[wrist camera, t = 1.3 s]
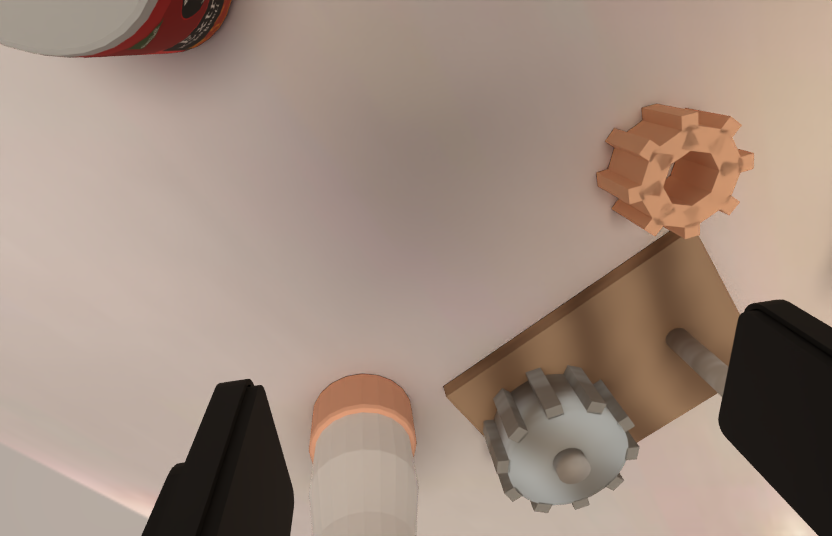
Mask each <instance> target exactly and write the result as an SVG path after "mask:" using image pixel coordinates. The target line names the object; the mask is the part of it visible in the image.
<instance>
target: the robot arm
mask: <svg viewBox="0 0 832 536" xmlns="http://www.w3.org/2000/svg"><path fill="white" fill-rule="evenodd" d="M718 421H719V426H720V429H721V431H722V433H723V434H724V436H725V437H726V438H727V439H728V440H729V441H730V442H731V443H732V444H733V446H734V447H735V448H736V449H737V450H738V451H739V452H740V453H741V454H742V455H743V456H744V457H745V458H746V459H747V460H748V461H749V463H750V464H751V465H752V466H753V467H754V468H755V469H756V470H757V471H758V472H759V473H760V474H761V475H762V476H763V477H764V478H765V480H766V481H767V482H768V483H769V484H770V485H771V486H772V487H773V488H774V489H775V490H776V491H777V492H778V493H779V494H780V495H781V497H782V498H783V499H784V500H785V501H786V502H787V503H788V504H789V505H790V506H791V507H792V508H793V509H794V510H795V511H796V512H797V513H798V515H799V516H800V517H801V518H802V519H803V520H804V521H805V522H806V523H807V524H808V525H809V526H810V527H811V528H812V529H813V530H814V532H815V533H816V534H817V535H818V536H832V327H830V326H829V325H827V324H825V323H823V322H822V321H820V320H818V319H817V318H815V317H813V316H812V315H810V314H808V313H807V312H805V311H803V310H802V309H800V308H798V307H797V306H795V305H793V304H792V303H790V302H788V301H785V300H772V301H765V302H759V303H752V304H750V305H748V306H747V307H746V309H745V311H744V313H741V315H740V316H739V318H738V321H737V326H736V331H735V336H734V341H733V346H732V351H731V356H730V362H729V367H728V372H727V377H726V382H725V387H724V392H723V397H722V402H721V407H720V412H719V419H718ZM293 510H294V493H293V487H292V484H291V480H290V477H289V473H288V470H287V466H286V463H285V459H284V456H283V452H282V449H281V445H280V442H279V438H278V435H277V431H276V428H275V424H274V421H273V417H272V414H271V410H270V407H269V403H268V400H267V396H266V393H265V390H264V387H263V386H262V385H257V386H254V384H253V382H252V381H251V380H250V379H244V380H238V381H231V382H224V383H219V384H217V386H216V388H215V390H214V392H213V395H212V397H211V400H210V402H209V405H208V407H207V409H206V412H205V414H204V417H203V419H202V422H201V424H200V427H199V429H198V432H197V434H196V436H195V439H194V441H193V444H192V446H191V449H190V451H189V454H188V456H187V458H186V461H185V463H179V464H176V465H175V466H174V467H173V468H172V469H171V471H170V472H169V474H168V476H167V478H166V480H165V483H164V485H163V487H162V490H161V492H160V494H159V497H158V499H157V501H156V503H155V506H154V508H153V510H152V513H151V515H150V517H149V519H148V522H147V525H146V526H145V529H144V531H143V533H142V536H290V532H291V525H292V517H293Z"/></svg>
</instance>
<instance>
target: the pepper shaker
mask: <svg viewBox="0 0 832 536" xmlns="http://www.w3.org/2000/svg"><path fill="white" fill-rule="evenodd" d="M416 444H417V442H416V436H415V429H414V423H413V416H412V410H411V405H410V400H409V398H408V397H407V395H406V393H405V392H404V390H403V389H402V388H401V387H399V386H398V385H397V384H396V383H394V382H393V381H392V380H389V379H386V378H384V377H381V376H378V375H368V374H359V375H353V376H348V377H344V378H342V379H340V380H338V381H336V382H334V383H332V384H330V385H329V386H328V387H327V388H326V389H325V390H324V391H323V392H322V393H321V394H320V395H319V397H318V399H317V401H316V403H315V405H314V410H313V419H312V428H311V436H310V445H309V453H310V456H311V460H312V463H313V468H312V476H311V483H310V491H309V502H310V513H311V524H312V535H313V536H416V530H417V508H418V482H417V476H416V471H415V465H414V460H413V457H414V453H415V449H416Z"/></svg>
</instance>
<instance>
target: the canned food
mask: <svg viewBox="0 0 832 536" xmlns="http://www.w3.org/2000/svg"><path fill="white" fill-rule="evenodd" d="M230 3H231V0H0V44H2V45H4V46H7V47H11V48H14V49H18V50H22V51H26V52H30V53H33V54H40V55H45V56H57V57H69V58H71V57H84V58H88V57H107V56H126V55H146V54H165V53H175V52H183V51H186V50H189V49H192V48H194V47H197V46H199V45H200V44H202V43H203V42H205V41H206V40H208V39H209V38H210V37H211V36H212V35H213V34H214V33H215V32H216V31H217V30H218V29H219V28H220V26H221V24H222V23H223V21H224V19H225V17H226V16H227V13H228V10H229V7H230Z"/></svg>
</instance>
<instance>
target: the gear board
mask: <svg viewBox="0 0 832 536" xmlns="http://www.w3.org/2000/svg"><path fill="white" fill-rule="evenodd" d="M739 316H740V314H739V312H738V310H737V308H736V306H735V304H734V302H733V300H732V299H731V297H730V295H729V293H728V291H727V289H726V287H725V285H724V283H723V281H722V279H721V278H720V276H719V274H718V272H717V270H716V268H715V266H714V264H713V262H712V260H711V258H710V257H709V255H708V253H707V251H706V249H705V247H704V245H703V243H702V241H701V239H700V238H699V236H695V237H691V238H688V239H684V238H682V237H680V236H679V235H677V234H675V233H673V232H672V231H670V232H668V233H667V234H665V235H664V236H662V237H661V238H659V239H658V240H656V241H655V242H654V243H652V244H651V245H649V246H648V247H646V248H645V249H643V250H642V251H640V252H639V253H637V254H636V255H635V256H633V257H632V258H630V259H629V260H627V261H626V262H624V263H623V264H621V265H620V266H619V267H617V268H616V269H614V270H613V271H611V272H610V273H608V274H607V275H605V276H604V277H602V278H601V279H600V280H598V281H597V282H595V283H594V284H592V285H591V286H589V287H588V288H586V289H585V290H583V291H582V292H581V293H579V294H578V295H576V296H575V297H573V298H572V299H570V300H569V301H567V302H566V303H564V304H563V305H562V306H560V307H559V308H557V309H556V310H554V311H553V312H551V313H550V314H548V315H547V316H546V317H544V318H543V319H541V320H540V321H538V322H537V323H535V324H534V325H532V326H531V327H529V328H528V329H527V330H525V331H524V332H522V333H521V334H519V335H518V336H516V337H515V338H513V339H512V340H510V341H509V342H508V343H506V344H505V345H503V346H502V347H500V348H499V349H497V350H496V351H494V352H493V353H492V354H490V355H489V356H487V357H486V358H484V359H483V360H481V361H480V362H478V363H477V364H475V365H474V366H473V367H471V368H470V369H468V370H467V371H465V372H464V373H462V374H461V375H459V376H458V377H456V378H455V379H454V380H452V381H451V382H449V383H448V384H446V385H445V386H443V387H444V390H445V394H446V397H447V398H448V399H449V400H450V401H451V402H452V403H453V404H454V406H455V407H456V408H457V409H458V410H459V411H460V412H461V413H462V414H463V415H464V416H465V417H466V418H467V419H468V420H469V421H470V422H471V423H472V424H473V425H474V426H475V427H476V428H477V429H478V430H479V432H480V433H481V434H482V435H483V436H484V437H485V439H486V442H487V445H488V448H489V451H490V454H491V457H492V460H493V463H494V466H495V469H496V472H497V474H498V476H499V479H500V482H501V485H502V488H503V491H504V494H505V495H507V496H508V497H509V498H510V499H511V500H512V501H515V500H517V499H518V498H520V497H521V496H523V497H525V498H526V499H528V500H530V502H531V504H532V507H533V510H534V511H536V512H544V513H548V512H549V510H550V508H551V506H552V505H564V504H570V503H572V505H573V507H574V509H575V510H576V509H579V508H582V507H585V506H588V505H589V501H588V497H590V496H592V495H594V494H596V493H598V492H599V491H601V490H602V489H604V488H605V487H607V488H609V489H611V490H613V491H614V490H615V489H616V488H617V487H618V486H619V485H620V484H621V483H622V482H623V481H624V480H623V478H622V476H621V475H620V473H619V472H620V471H621V469H622V468H623V466H624V464H625V462H626V460H633V459H637V456H638V451H639V446H638V444H637V442H639V441H640V440H642V439H644V438H645V437H647V436H648V435H650V434H652V433H653V432H655V431H657V430H658V429H660V428H661V427H663V426H665V425H666V424H668V423H670V422H671V421H673V420H675V419H676V418H678V417H679V416H681V415H683V414H684V413H686V412H688V411H689V410H691V409H693V408H694V407H696V406H697V405H699V404H701V403H702V402H704V401H706V400H707V399H709V398H710V397H712V396H714V395H715V394H717V393H719V394H720V395H721V396H722V397H723V392H724V387H725V382H726V377H727V372H728V367H729V362H730V356H731V351H732V346H733V341H734V336H735V331H736V326H737V321H738V318H739Z"/></svg>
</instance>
